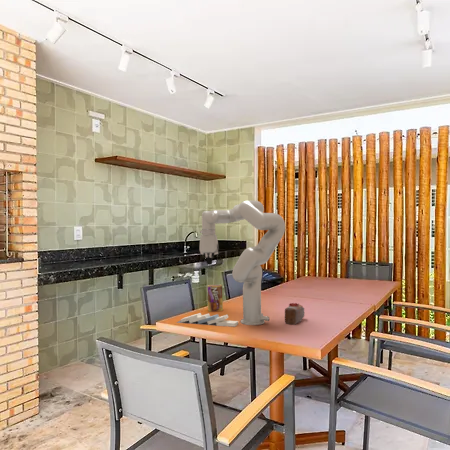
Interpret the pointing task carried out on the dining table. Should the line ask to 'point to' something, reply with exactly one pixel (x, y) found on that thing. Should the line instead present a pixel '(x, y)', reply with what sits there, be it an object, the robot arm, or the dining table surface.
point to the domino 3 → (218, 319)
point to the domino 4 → (227, 323)
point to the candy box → (215, 298)
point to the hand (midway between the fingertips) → (209, 264)
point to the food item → (294, 313)
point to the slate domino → (208, 319)
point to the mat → (197, 323)
